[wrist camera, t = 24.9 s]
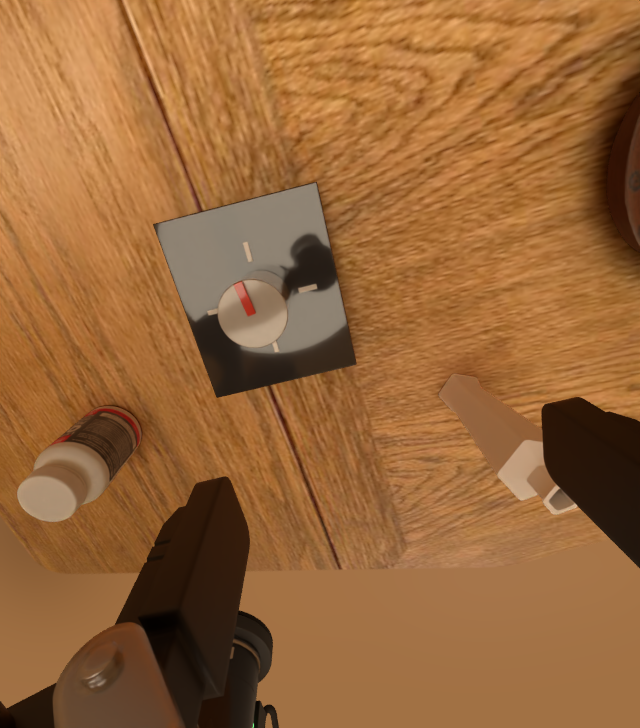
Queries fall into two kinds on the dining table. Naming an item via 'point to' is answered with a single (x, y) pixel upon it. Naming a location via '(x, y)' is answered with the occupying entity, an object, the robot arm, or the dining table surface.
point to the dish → (626, 177)
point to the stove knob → (255, 309)
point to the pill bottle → (80, 464)
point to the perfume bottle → (505, 441)
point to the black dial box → (268, 253)
